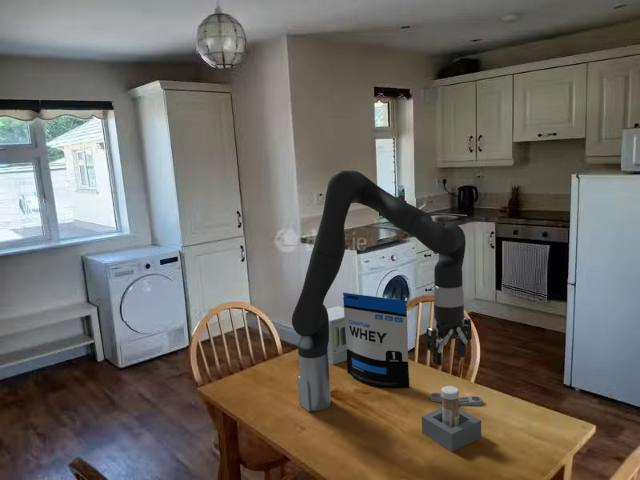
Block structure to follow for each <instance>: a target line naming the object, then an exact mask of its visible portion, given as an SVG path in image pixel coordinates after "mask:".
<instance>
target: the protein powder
mask: <svg viewBox="0 0 640 480" xmlns="http://www.w3.org/2000/svg"><path fill="white" fill-rule="evenodd" d="M342 295H343V297H342V298H343V302H342V303H343V308H344V319H345V333H346V347H347V360H346V363H347V364H346V366H347V374H349V375H350V376H351V378H352V379H354V380H355V381H357V382H358V383H361V384H363V385H365V386H369V387H373V388H379V389H389V390H391V389H392V390H397V389H410V371H409V340H408V339H409V337H408V336H409V333H408V308H407V300H402V299H394V298H386V297H380V296H372V295H371V296H370V295H365V294H364V295H363V294H357V293H348V292H342Z"/></svg>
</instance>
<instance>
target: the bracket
mask: <svg viewBox="0 0 640 480" xmlns="http://www.w3.org/2000/svg"><path fill="white" fill-rule="evenodd" d="M429 396H430V401H432V402H437V403H442V394H441V392H431V393H430V395H429ZM482 404H483V398H482V397H481V396H477V395H470V396H462V397H460V396H459V398H458V407H459V406H480V405H482Z"/></svg>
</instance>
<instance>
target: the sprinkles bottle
mask: <svg viewBox="0 0 640 480" xmlns="http://www.w3.org/2000/svg"><path fill="white" fill-rule="evenodd" d="M440 393H441V394H442V402H441V404H442V406H441V408H442V417H443V424H445V425H447V426H448V427H450V428H453V427H455V426H457V425H459V409H460V408H459V406H458V398H460V389H459V388H458V387H456V386H453V385H446V386H442V388H441V392H440Z"/></svg>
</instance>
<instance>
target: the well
mask: <svg viewBox="0 0 640 480" xmlns="http://www.w3.org/2000/svg"><path fill="white" fill-rule="evenodd" d="M421 433H422V434H423V435H425V436H426V437H428V438H429V439H431V440H432V441H434V442H435V443H436V444H439V445H440V446H441V447H443V448H444V449H446V450H448V451H449V452H451V453H453V452H455V451H457V450H459V449H461V448H463V447H466V446H467V445H470V444H471V443H473V442H475V441H477V440H480V439H482V420H481V419H479V418H478V417H476V416H474V415H471V414H470V413H468V412H466V411H465V410H462V409H460V408H459V425H457V426H455V427H453V428H450V427H448V426H447V425H445V424H443V417H442V407H440V408H437V409H436V410H434V411H431V412H429V413H426V414H424V415H421Z"/></svg>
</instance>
